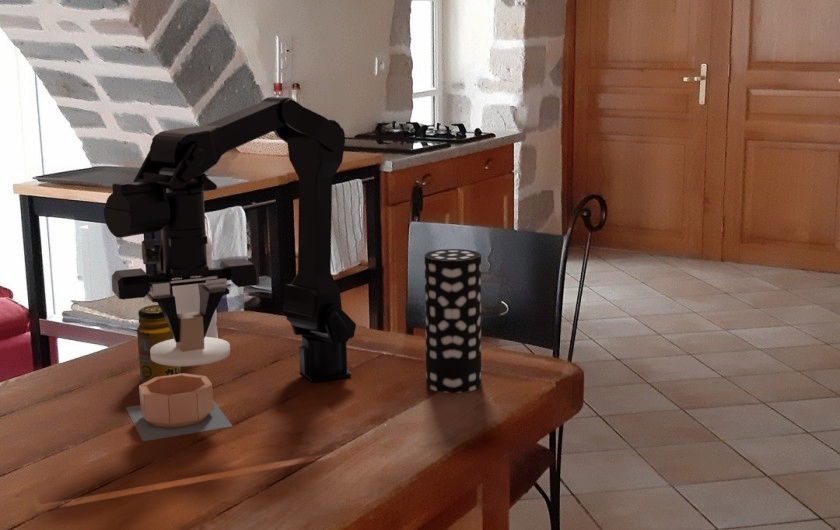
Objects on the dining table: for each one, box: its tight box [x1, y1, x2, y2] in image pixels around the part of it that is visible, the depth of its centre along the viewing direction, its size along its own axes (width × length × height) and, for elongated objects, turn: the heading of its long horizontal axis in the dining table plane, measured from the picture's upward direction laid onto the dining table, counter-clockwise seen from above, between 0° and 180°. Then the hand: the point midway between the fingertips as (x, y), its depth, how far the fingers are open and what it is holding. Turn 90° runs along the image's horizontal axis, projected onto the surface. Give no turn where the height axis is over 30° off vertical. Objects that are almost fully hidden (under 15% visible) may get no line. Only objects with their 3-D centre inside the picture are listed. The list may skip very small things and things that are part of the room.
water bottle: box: [171, 231, 219, 338], centre depth 179 cm, size 7×7×25 cm
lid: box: [150, 312, 231, 367], centre depth 145 cm, size 11×11×6 cm
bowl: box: [138, 372, 214, 428], centre depth 148 cm, size 9×9×5 cm
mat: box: [125, 400, 234, 442], centre depth 149 cm, size 12×14×1 cm
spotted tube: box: [424, 248, 482, 394], centre depth 160 cm, size 8×8×20 cm
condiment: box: [136, 304, 181, 384], centre depth 163 cm, size 7×8×12 cm
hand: (189, 339), depth 146 cm, fingers closed on lid, 3 cm apart
